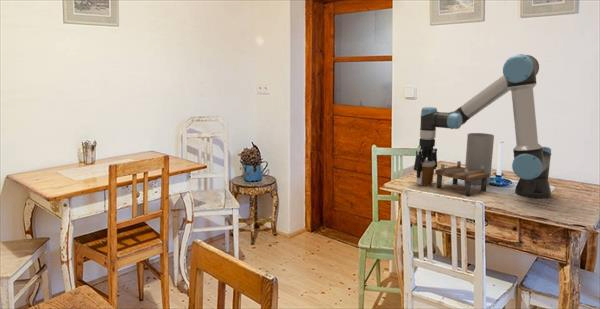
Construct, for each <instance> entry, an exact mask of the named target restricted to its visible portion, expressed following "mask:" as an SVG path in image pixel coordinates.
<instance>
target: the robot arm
mask: <svg viewBox="0 0 600 309" xmlns="http://www.w3.org/2000/svg"><path fill="white" fill-rule="evenodd" d="M539 70H540V64H539V61H538V59H536V58H535V56H532V55H530V54H523V53H522V54H521V53H520V54H519V53H517V54H515V55H513V56H510V57H508V58H507V60H506V61H505V62H504V63H503V67H502V74H503V75H502V76H500V77H499V78H497V80H495V81H493V82H492V83H491V84H490V85H488V86H486V87H485V88H483V90H481V91H480V92H479V93H477V94H476V95H474V96H473V97H471V98H470V99H469V100H468V101H466V102H465V103H463V104H462V105H461V106H459V107H458V108H457V109H456V110H454V111H449V112H441V111H438V108H437V107H435V106H434V107H433V106H432V107H431V106H424V107H422V108H421V113H420V128H419V129H420V130H419V137H420V138H419V140H418V141H419V144H418V145H419V147H420V149H419V150H416V151H415V161H414V166H413V170H414V171H415V172H416V184H417V185H420V184H422V163H423V162H425V159H428V161H435V164H436V165H435V167H434V170H437V167H438V158H437V157H438V156H437V153H438V148H435V147H436V139H435V138H436V136H437V135H436V132H437V128H439V129H440V128H443V129H450V130H459V129H460V128H461V127H462V126H463V125H465V124H466V123H467V121H469V120H470V119H472V118H473V117H474V116H475V115H477V114H478V113H480V112H481V111H484V110H485V108H487V107H489V106H490V105H492V103H494V102H496V101H497V100H498V99H499V98H502V97H503V96H504V95H505V94H507V93H508V92H510V91H511V92H510V93H511V100H512V112H513V122H514V131H515V142H516V145H515V146H514V147H513V149H512V150H513V160H512V164H511V169H512V171H513V173H514V174H515V175H516V176H517V178H519V179H518V182H517V183H516V186H515V190H514V193H515V194H516V195H517V196H521V197H525V198H530V199H549V198H551V196H552V190H551V185H550V182H549V177H550V176H549V175H550V174H549V173H550V164H551V159H552V158H551V156H552V149H551V148H550V147H548V146H542V145H540V143H539V140H538V139H539V138H538V137H539V136H538V128H537V117H536V106H535V96H534V94H535V93H534V87H536V86H537V75H538V73H539ZM420 162H422V163H420ZM419 168H420V169H419ZM434 174H435V171H434V172H433V177H432V183H433V182H434Z"/></svg>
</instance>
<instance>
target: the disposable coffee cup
mask: <svg viewBox="0 0 600 309" xmlns="http://www.w3.org/2000/svg"><path fill="white" fill-rule="evenodd" d="M420 163H422V162H420ZM435 165H436V164H435V161H428V159H427V158H426V159H425V162H423V163H422V184H419V185H420V186H424V187H425V186H431V185H432V183H433V182H432V177H433V178H434V175H433V172H434V173H435V169H434V167H435ZM419 169H420V168H419Z"/></svg>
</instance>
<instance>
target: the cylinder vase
mask: <svg viewBox="0 0 600 309" xmlns="http://www.w3.org/2000/svg"><path fill="white" fill-rule="evenodd" d="M466 138H467V139H466V152H465V154H466V155H465V166H464V168H468V169H473V170H478V171H480V169H481V166H484V172H487V173H489V177H487V186H489V185H490V184H489V182H490V183H491V179H492V176H491V175H492V168H493V167H492V165H493V164H492V163H493V153H494V142H495V140H494V139H495V135H494V134H491V133H485V132H484V133H482V132H470V133H467V137H466ZM481 181H482V179H479V180H475V181H471V185H472V186H478V187H479V186H480V187H481ZM465 182H466V181H464V183H465Z"/></svg>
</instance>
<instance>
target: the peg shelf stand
mask: <svg viewBox="0 0 600 309" xmlns="http://www.w3.org/2000/svg"><path fill="white" fill-rule="evenodd" d="M456 164H457V165H455V166H448V167H445V164H443V163H442V164H440V168H439V169H434V174H435V175H436V186H435V187H436V189H437V190H439V189H441V190H442V184H443V177H447V178H450V179H452V185H454V186H457V185H458V182H459V181H458V180H460V181H464V183H465V184H464V186H465V187H464V196H466V197H469V196H471V187H472V186H471V181H475V180H479V179H482V181H481V186H480V192H487V186H488V185H487V177H489V173H487V172H484V166H481V169H480V171H478V170H473V169H468V168H465V167H463V166H462V167H461V165H462V161H459V160H457V162H456ZM465 181H466V182H465Z"/></svg>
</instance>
